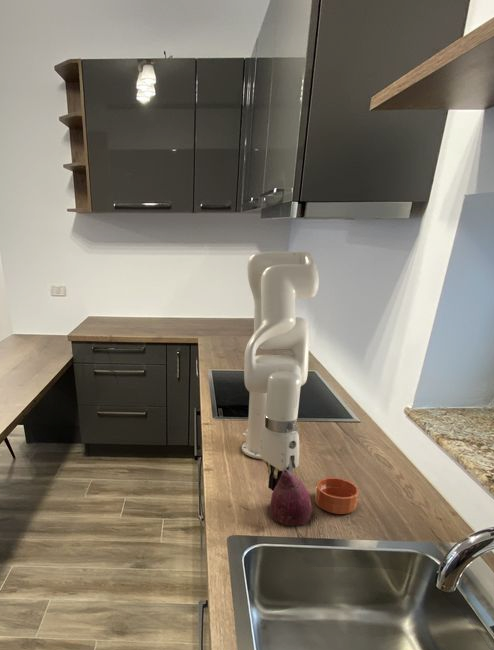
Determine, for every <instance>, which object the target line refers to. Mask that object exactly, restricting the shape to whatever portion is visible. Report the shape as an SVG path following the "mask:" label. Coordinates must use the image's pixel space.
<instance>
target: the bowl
mask: <svg viewBox="0 0 494 650" xmlns="http://www.w3.org/2000/svg"><path fill="white" fill-rule="evenodd" d="M359 495H360V490H359V487H358V486H357V485H356V484H355V483H354V482H351V481H350V480H347V479H344V478H341V477H333V476H332V477H324V478H321V479H320V480H318V481H317V482H316V487H315V495H314V503H315V504H316V506H318V507H319V508H320V509H322V510H323V511H325V512H327V513H332V514H336V515H346V514H350V513H352V512H353V513H354V511H355V510H356V509H357V507H358V501H359Z"/></svg>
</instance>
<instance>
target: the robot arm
mask: <svg viewBox="0 0 494 650" xmlns="http://www.w3.org/2000/svg"><path fill="white" fill-rule="evenodd" d="M246 266H247V267H246V269H247V270H246V271H247V280H248V284H249V288H250V291H251V294H252V297H253V302H254V303H253V305H254V309H253V310H254V312H253V319H254V320H253V334H252V335H251V337H250V338H249V339H248V341H247V344H246V347H245V350H244V357H243V362H244V363H243V381H244V386H245V389H246V390H247V391H248V392H249V400H248V418H247V429H245V432H243V433H242V435H241V436H242V437H243V438H244V439H245V442H243V443H242V445H241V451H242V453H244V454H245V455H246V456H248V457H250V458H253V459H258V460H262V461H263V462H264V463H265V464H266V467H267V473H268V484H267V485H268V487H267V488H268V489H269V490H270V491H272V492H273V490H274V488H275V487H276V485H277V483H278V482H279V480H280V478H281V474H282V472H283V471H284V469H286V470H289V471H290V472H292V473H293V474H294V469H298V467H299V463H300V462H299V461H300V436H299V432H298V429H299V428H298V415H299V405H300V395H301V387H302V386H304V385H305V384H306V383H307V380H308V374H309V355H310V354H309V353H310V326H309V324H308V322H307V320H306V319H305V318H302V317H299V316H296V299H297V300H298V299H313V298H314V297H315V296H316V295H317V293H318V290H319V285H320V275H319V271H318V267H317V264H316V262H315V261H314V258H313V257H312V255H311V254H310V253H309V252H307V251H262V252H257V253H254V254H252V255H250V257H249V258H248V260H247V265H246ZM258 349H260V350H270V351H290V352H291V354H278V353H275V354H274V353H273V354H272V353H270V354H269V353H267V354H258V355H257V350H258Z"/></svg>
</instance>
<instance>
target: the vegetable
mask: <svg viewBox="0 0 494 650" xmlns="http://www.w3.org/2000/svg"><path fill="white" fill-rule="evenodd" d="M269 504H270V505H269V515H270V517H271V519H272V520H274V521H275V522H277V523H280V524H283V525H285V526H304V525H305V524H307V523H309V521H310V520H311V518H312V513H313V507H312V501H311V496H310V493H309V491H308V488H307V487H306V486H305V484H304V483H303V481H301V479H299V478H298V477H297V476H296V475H295V474H294V472H293V473H292V472H290V471H289V470H286V469H284V471H283V472H282V474H281V478H280V480H279V482H278V483H277V485H276V487H275V488H274V490H273V491H272V493H271V499H270V503H269Z"/></svg>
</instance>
